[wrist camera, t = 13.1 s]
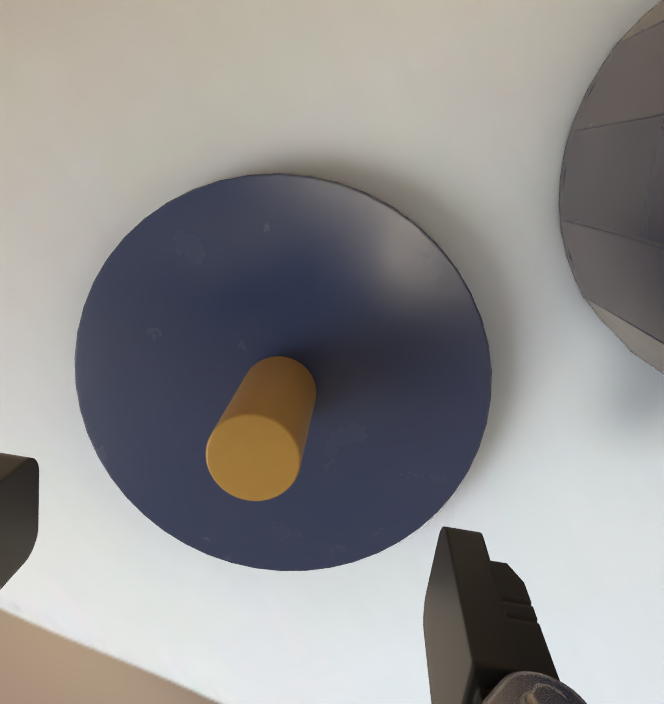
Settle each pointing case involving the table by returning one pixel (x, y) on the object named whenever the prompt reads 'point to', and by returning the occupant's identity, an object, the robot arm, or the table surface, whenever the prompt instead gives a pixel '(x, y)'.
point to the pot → (621, 191)
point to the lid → (283, 372)
